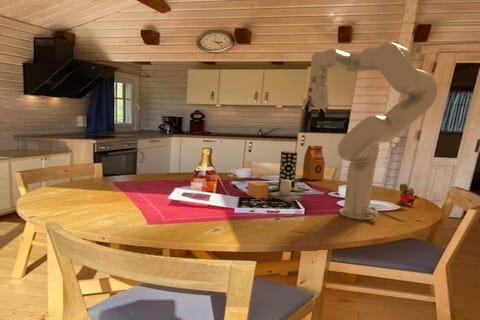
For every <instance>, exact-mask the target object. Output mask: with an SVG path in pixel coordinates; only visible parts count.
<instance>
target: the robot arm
mask: <svg viewBox="0 0 480 320" xmlns="http://www.w3.org/2000/svg"><path fill="white" fill-rule="evenodd" d="M411 61H412V55H411V52H410V51H409V49H408V48H406V47H404V46H402V45H400V44H397V43H394V42H385V43H382V44H380V45H379V46H378V47H377V46H375V47H370V46H369V47H365V48H364V49H363V50H362V52H354V53H353V52H352V53H351V52H346V51H342V50H341V49H340V50H339V49H336V48H329V49H325V50H323V51H316V52H314V53H313V54H311V61H310V62H311V63H310V72H309V73H310V74H309V83H308V86H307V92H306V98H304V99H303V100H302V106H303V111H304V119H303V121H305V122H311V121H312V113H313V112H312V110H313V109H318V111H319V112H318V116H317V122H319V123H321V122H322V123H323V122H325V119H326V113H327V111H328V108H329V105H330V104H329V102H328V98H329V96H328V95H329V90H328V89H329V87H328V78H329V76H328V75H329V69H331V70H332V69H333V70H336V71H341V72H355V73H356V72H359V73H360V72H380V73H381V74H382V76H383V77H384V78H385V80H386V81H387V83H388V84H390V86H391V88H392V89H394V90H395V92H396V93H397V92H398V93H399V94H401V95H402V94H403V95H406V97H404V98H403V99H402V100H400V101H399V102H397V103H396V104H395V105H393V107H391V108H390V109H389V110H388V111H387V112H386V113H384V114H382V115H370V116H367V117H365V118H364V119H362V120H361V121H359V122H358V123H357V124H356V125H355V126H354V127H353V128H352V129H351V130H349V132H348V133H347V134H346V135H344V137H342V138H341V140H340V141H339V142H338V146H337V152H338V155H339V156H340V158H341V159H343V161H344V160H345V161H348V162H349V164H348V168H347V175H346V187H345V193H344V194H345V195H344V203H343V208H340V209H339V214H340V215H341V216H344V217H346V218H349V219H355V220H360V221H361V220H362V221H363V220H365V221H367V220H372V219H373V218H378V217H379V211H377V210H373V205H371V200H372V199H371V198H372V191H373V189H372V188H373V183H374V175H375V169H376V168H375V167H376V163H377V159H378V156H379V151H380V147H379V143H380V144H383V143H389V142H391V141H392V140H394V139H395V138H396V137H397V136H398V135H400V134H401V133H402V132H403V131H405V130H406V129H407V128H409V127H410V126H411V125H412V124H413V123H414V122H416V121H417V120H418V119H419V118H420V117H422V116H423V115H424V114H425V113H426V112H427V111H428V110H430V108H431V107H432V106H433V105H434V103H435V101H436V99H437V95H438V84H437V81H436V79H435V78H434V76H432V74H431V73H428V71H427V72H426V71H424V70H422V69H418V68H416V67H415V66H414V65H413V64H412V63H411Z"/></svg>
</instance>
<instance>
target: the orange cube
mask: <svg viewBox="0 0 480 320" xmlns="http://www.w3.org/2000/svg"><path fill="white" fill-rule="evenodd" d="M269 189H270V184H268V183H265V182H263V181H251V182H247V189H246V190H247V195H246V196H249V197H252V198H254V199H262V198H269V197H268V193H269V192H270V191H269Z"/></svg>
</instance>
